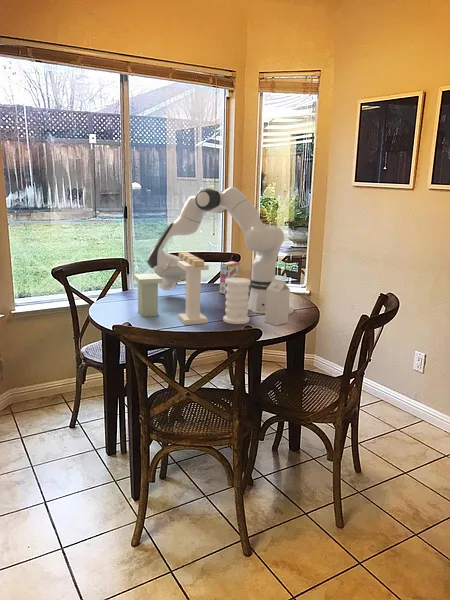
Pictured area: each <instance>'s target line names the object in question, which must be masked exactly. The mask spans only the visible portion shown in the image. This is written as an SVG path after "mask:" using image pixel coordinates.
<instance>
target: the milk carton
mask: <svg viewBox="0 0 450 600" xmlns="http://www.w3.org/2000/svg"><path fill="white" fill-rule="evenodd" d="M286 282H287V281H285V280H282V279H276V278H275V279H272V282H271V283H270V285H269V286H268V288H267V294H266V312H265V314H264V315H265V316H264V322H265V323H268V324H271V325H274V326H282V325H284V324H287V323H289V315H288V312H289V303H290V293H291V289H290V287H289V286H288V285H287V284H286Z"/></svg>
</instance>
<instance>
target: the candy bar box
mask: <svg viewBox="0 0 450 600" xmlns="http://www.w3.org/2000/svg"><path fill="white" fill-rule="evenodd" d="M239 270H240V262H239V261H238V262H237V261H228V262H221V263H220V271H219V273H220V274H219V290H218V291H219V293H218V294H222V295H225V296H226V294H227V291H226V287H227V284H226V283H225V279H227V278H239V272H240V271H239Z"/></svg>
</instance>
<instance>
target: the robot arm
mask: <svg viewBox="0 0 450 600" xmlns="http://www.w3.org/2000/svg"><path fill="white" fill-rule="evenodd" d="M226 211H227V213H229V214H230V216H231V217H232V218H233V220H234V221H235V223H236V224H237V225H238V226H239V228H240V229H241V231H242V234H243V236H244V244H245V246H246V248H247V249H248V250H249V251H252V252H256V255H255V257H254V259H253V261H252V263H251V276H250V277H251V278H250V279H249V280H250V284H249V293H250V294H249V299H248V303H249V305H248V311H251V312H253V313H255V314H262V315H263V314H264V315H265V312H266V294H267V288H268V286H269V285H270V283H271V282H272V279H276V269H277V268H276V267H277V261H278V257H279V254H280V250H281V248H282V247H281V246H282V245H283V243H284V240H285V234H284V231H283V230H282V229H281V228H279V227H277V226H275V225H274V226H273V225H270V226H267V225H264V223H263V222H262V219H261V217H260V211H259V210H258V209H257V208H256V207H255V206H254V204H253V203H252V202H251V201H250V200H249V198H248V197H247V196H246V195H245V194H244V193H243V192H242V191H241V190H240V189H238V188H237V187H235V186H230V187H228V188H226V189H225V190H223V191H222V190H218V189H216V188H209V187H206V188H201V189H200V190H198V191H197V193H196V195H191V196H189V197H188V198H187V200H186V201H185V202H184V205H183V207H182V209H181V212H180V213H179V216H178V217H177V218H176V219H175V220H174V221H170V222H169V224H168V225H167V226H166V227H165V229H164V230H163V232H162V234H161V236H160V237H159V239H158V241H157V242H156V244H155V245H154V247H153V248H152V250H151V251H150V252H149V254H148V256H147V259H146V260H147V261H146V263H147V264H148V266H149V268H150V269H153V271H152V272H151V274H153V273H156V274H157V275H158V276H160V277H161V278H162V283H158V288H160V290H162V291H170V290H172V289H173V288H174V287H175V286H176V285H177V284H178V283H182V282H186V271H185V270H183V269H182V268H180V267H179V266H177V261H184V260H182V259H180V258H179V256H177V255H174V254H171V253H168V252H166V251H163V250H164V248H165V246H166V245H167V244H168V241H169V240H170V238H173V237H174V236H190V235H193V234H195V233H196V232H197V231H198V230H199V227H200V225H201V222H202V221H203V218H204V215H205V214H206V213H215V214H222V213H224V212H226ZM290 303H291V302H289V312H288V316H289V315H291V314H293V313H294V311H295V308H294V306H291V305H290Z"/></svg>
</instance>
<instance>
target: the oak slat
mask: <svg viewBox="0 0 450 600" xmlns="http://www.w3.org/2000/svg"><path fill="white" fill-rule="evenodd" d="M178 257H179V258H180V259H182V260H183V261H185V262H187V263H189V264H190V265H192V266H194V267H204V263H205V260H204V259H202V258H200V257H198V256H196V255H194V254H192V253H190V252H188V251H179V252H178Z"/></svg>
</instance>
